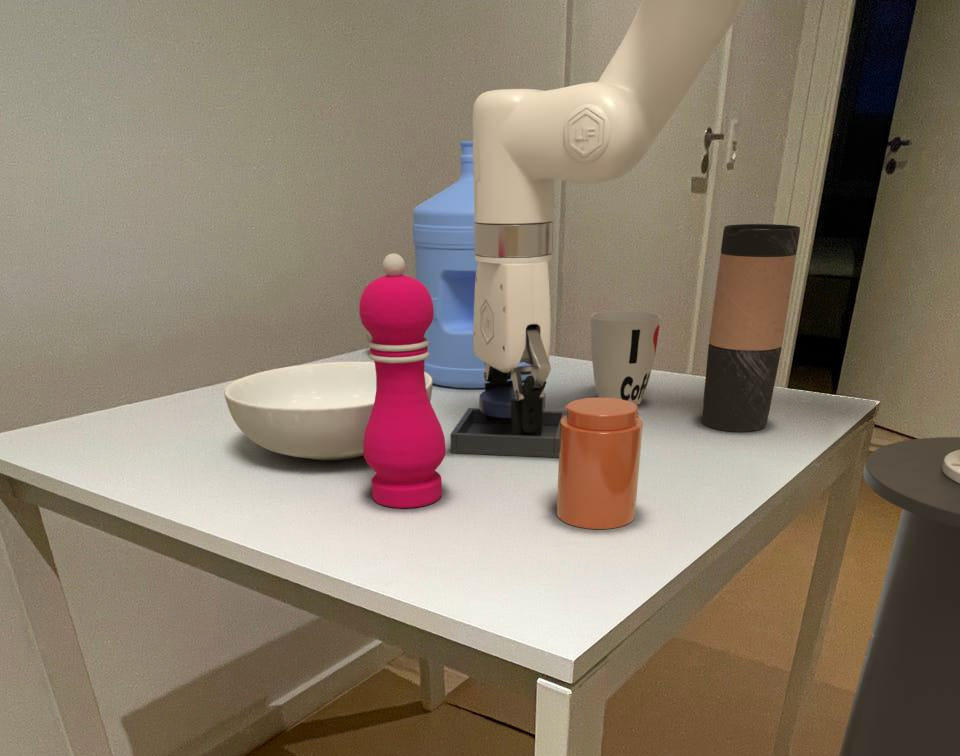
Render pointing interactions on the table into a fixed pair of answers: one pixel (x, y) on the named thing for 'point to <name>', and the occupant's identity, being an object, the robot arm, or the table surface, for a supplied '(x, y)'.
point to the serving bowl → (308, 408)
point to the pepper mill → (401, 391)
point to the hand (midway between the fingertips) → (512, 426)
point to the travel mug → (748, 324)
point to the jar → (599, 463)
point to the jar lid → (499, 402)
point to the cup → (623, 352)
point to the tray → (505, 436)
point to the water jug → (450, 279)
